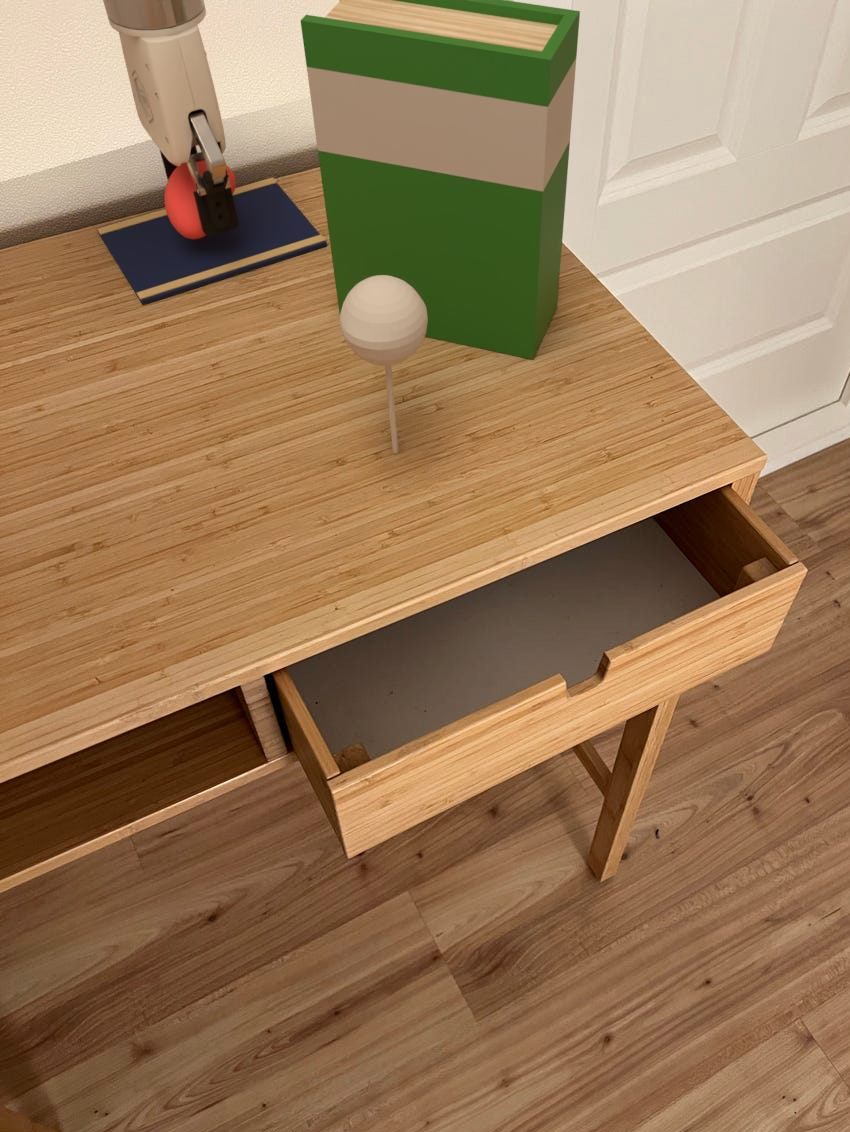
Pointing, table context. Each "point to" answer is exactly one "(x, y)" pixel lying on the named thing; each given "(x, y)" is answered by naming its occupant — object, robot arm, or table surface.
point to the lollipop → (384, 327)
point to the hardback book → (448, 156)
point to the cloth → (210, 243)
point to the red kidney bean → (186, 200)
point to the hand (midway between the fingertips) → (203, 205)
